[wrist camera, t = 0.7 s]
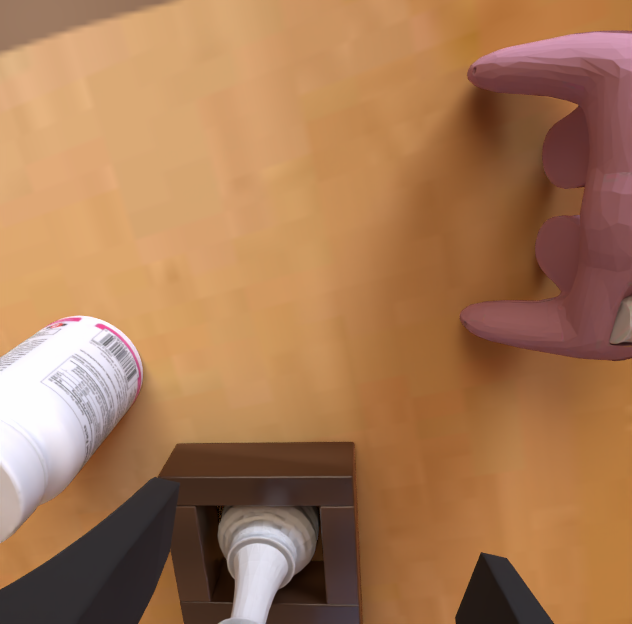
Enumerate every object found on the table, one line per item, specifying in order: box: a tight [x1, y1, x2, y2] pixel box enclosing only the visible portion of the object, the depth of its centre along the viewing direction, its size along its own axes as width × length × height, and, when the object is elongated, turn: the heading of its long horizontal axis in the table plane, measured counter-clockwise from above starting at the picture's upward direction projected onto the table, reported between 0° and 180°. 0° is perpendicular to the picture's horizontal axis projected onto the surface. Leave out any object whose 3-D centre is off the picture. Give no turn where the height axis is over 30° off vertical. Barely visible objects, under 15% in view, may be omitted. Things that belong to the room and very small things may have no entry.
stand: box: [158, 442, 363, 624], centre depth 25 cm, size 14×8×2 cm, turn 4°
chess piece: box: [218, 506, 320, 624], centre depth 20 cm, size 4×4×10 cm
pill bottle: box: [0, 316, 143, 543], centre depth 19 cm, size 5×5×8 cm
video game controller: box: [460, 31, 632, 361], centre depth 17 cm, size 10×5×7 cm, turn 3°
